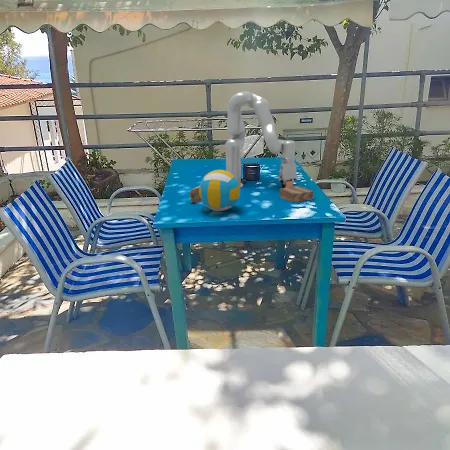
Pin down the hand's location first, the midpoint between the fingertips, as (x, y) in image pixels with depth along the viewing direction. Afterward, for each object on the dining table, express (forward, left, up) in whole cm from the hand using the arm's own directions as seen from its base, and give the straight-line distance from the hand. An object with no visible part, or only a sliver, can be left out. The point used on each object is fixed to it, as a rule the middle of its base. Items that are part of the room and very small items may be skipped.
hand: (287, 188), depth 262 cm
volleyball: (-56, -18, -1) cm, 59 cm away
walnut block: (-6, -18, -1) cm, 19 cm away
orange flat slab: (-59, +4, -1) cm, 59 cm away
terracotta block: (0, 0, -1) cm, 1 cm away
